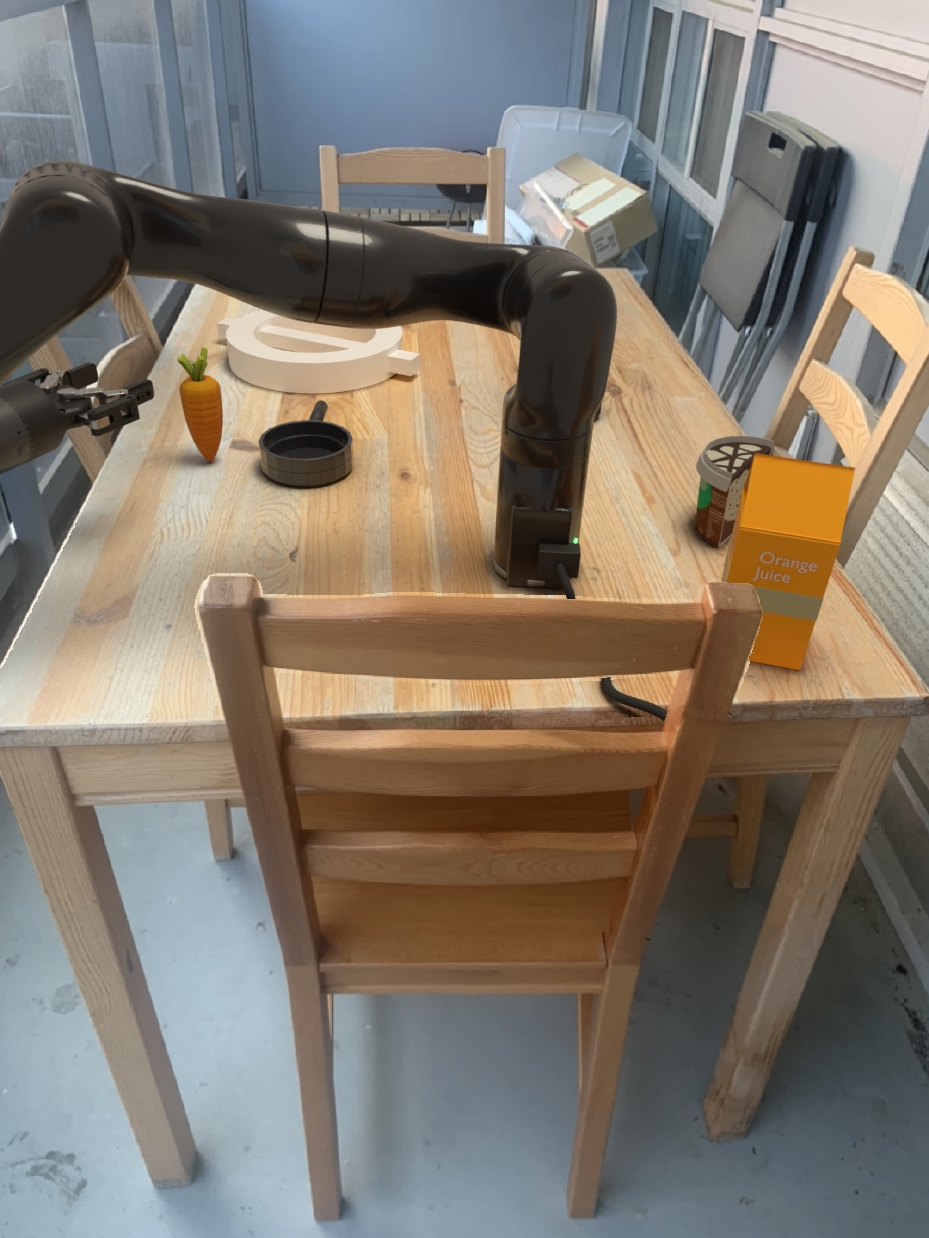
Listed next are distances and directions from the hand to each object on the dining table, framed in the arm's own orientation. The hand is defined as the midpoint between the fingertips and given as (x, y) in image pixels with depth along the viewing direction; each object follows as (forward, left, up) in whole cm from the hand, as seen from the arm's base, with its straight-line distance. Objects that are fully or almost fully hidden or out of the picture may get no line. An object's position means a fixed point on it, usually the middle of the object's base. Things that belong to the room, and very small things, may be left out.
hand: (122, 379), depth 103 cm
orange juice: (-23, -69, -15) cm, 74 cm away
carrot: (+10, -5, -15) cm, 19 cm away
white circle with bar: (+48, -13, -15) cm, 52 cm away
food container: (0, -69, -15) cm, 71 cm away
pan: (+10, -18, -15) cm, 26 cm away
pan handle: (+19, -18, -13) cm, 29 cm away
